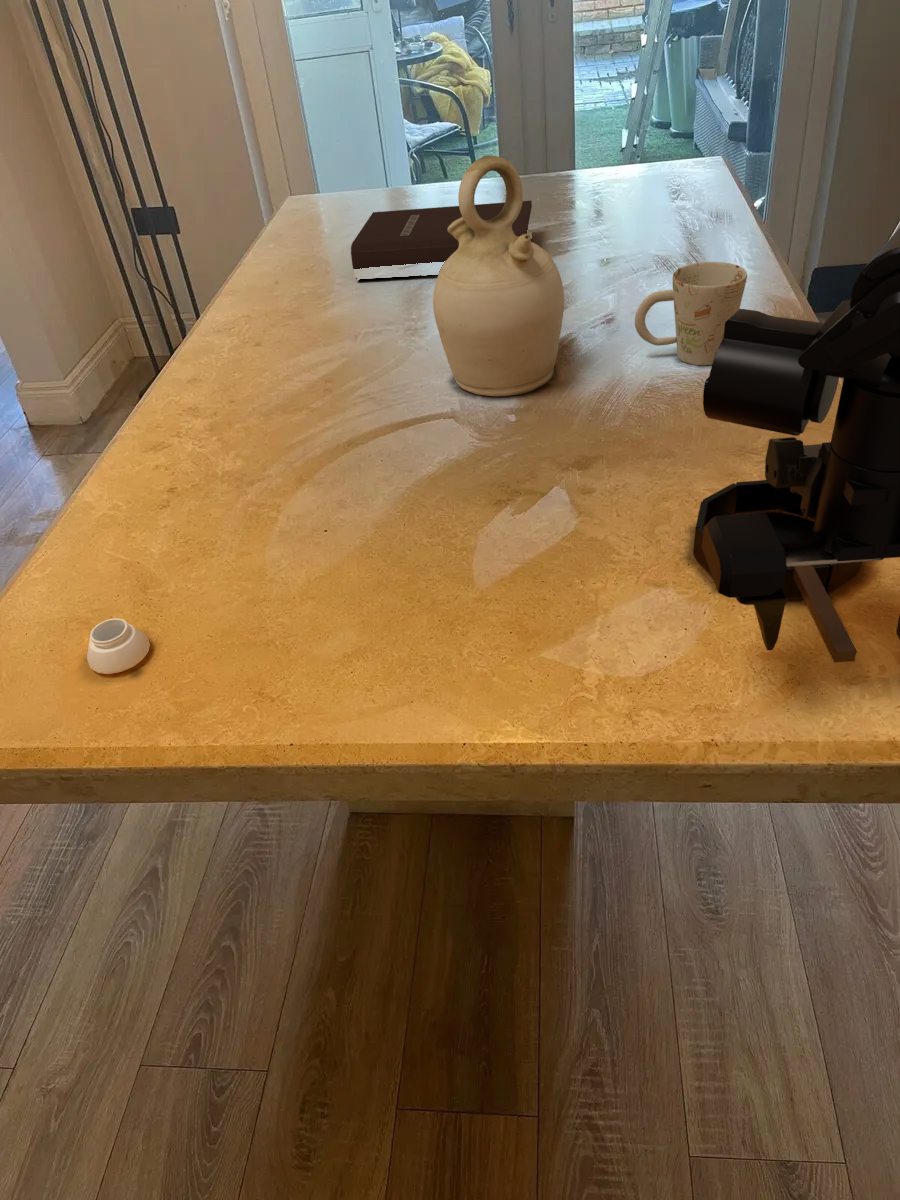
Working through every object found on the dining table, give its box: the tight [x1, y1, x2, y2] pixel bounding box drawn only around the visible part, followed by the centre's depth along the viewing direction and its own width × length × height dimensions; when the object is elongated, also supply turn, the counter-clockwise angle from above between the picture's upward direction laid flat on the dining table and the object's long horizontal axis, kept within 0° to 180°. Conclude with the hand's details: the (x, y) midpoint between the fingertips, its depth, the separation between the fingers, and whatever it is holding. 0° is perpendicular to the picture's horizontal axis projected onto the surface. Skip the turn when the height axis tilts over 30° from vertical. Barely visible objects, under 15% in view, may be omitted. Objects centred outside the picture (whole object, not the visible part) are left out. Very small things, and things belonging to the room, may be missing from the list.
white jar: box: [86, 617, 151, 675], centre depth 70 cm, size 5×3×5 cm
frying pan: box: [692, 479, 863, 663], centre depth 68 cm, size 23×14×4 cm, turn 179°
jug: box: [432, 155, 565, 397], centre depth 98 cm, size 15×16×25 cm
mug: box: [634, 261, 748, 366], centre depth 102 cm, size 8×13×10 cm, turn 89°
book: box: [350, 200, 533, 270], centre depth 142 cm, size 28×20×6 cm
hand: (834, 642), depth 60 cm, fingers open, 9 cm apart
